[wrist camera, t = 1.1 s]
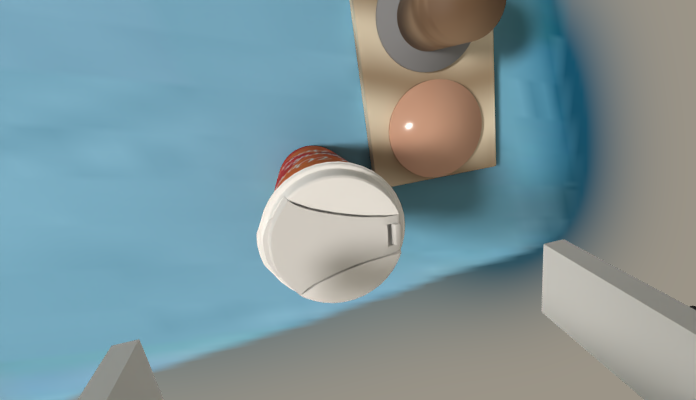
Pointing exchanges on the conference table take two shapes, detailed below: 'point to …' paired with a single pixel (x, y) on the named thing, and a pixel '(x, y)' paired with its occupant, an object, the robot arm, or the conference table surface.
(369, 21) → the board
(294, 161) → the paper cup
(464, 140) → the terracotta pad
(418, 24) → the brown short cylinder
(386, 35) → the grey pad
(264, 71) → the conference table surface
